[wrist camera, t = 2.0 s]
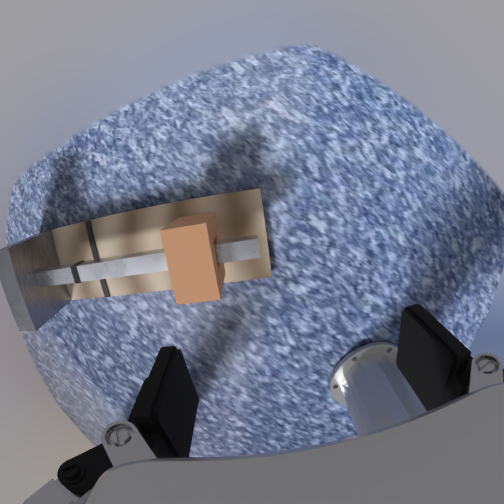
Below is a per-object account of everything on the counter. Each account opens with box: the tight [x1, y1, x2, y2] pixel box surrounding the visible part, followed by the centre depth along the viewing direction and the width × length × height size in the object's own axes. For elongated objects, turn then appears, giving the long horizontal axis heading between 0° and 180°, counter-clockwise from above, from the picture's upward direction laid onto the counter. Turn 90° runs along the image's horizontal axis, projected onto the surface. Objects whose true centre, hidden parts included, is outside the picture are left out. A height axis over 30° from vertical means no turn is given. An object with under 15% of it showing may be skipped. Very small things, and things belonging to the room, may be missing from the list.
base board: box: [35, 188, 272, 300], centre depth 32 cm, size 31×10×1 cm, turn 98°
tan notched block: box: [160, 212, 226, 304], centre depth 27 cm, size 4×7×7 cm, turn 8°
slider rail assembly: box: [0, 230, 261, 331], centre depth 28 cm, size 30×10×10 cm, turn 98°
